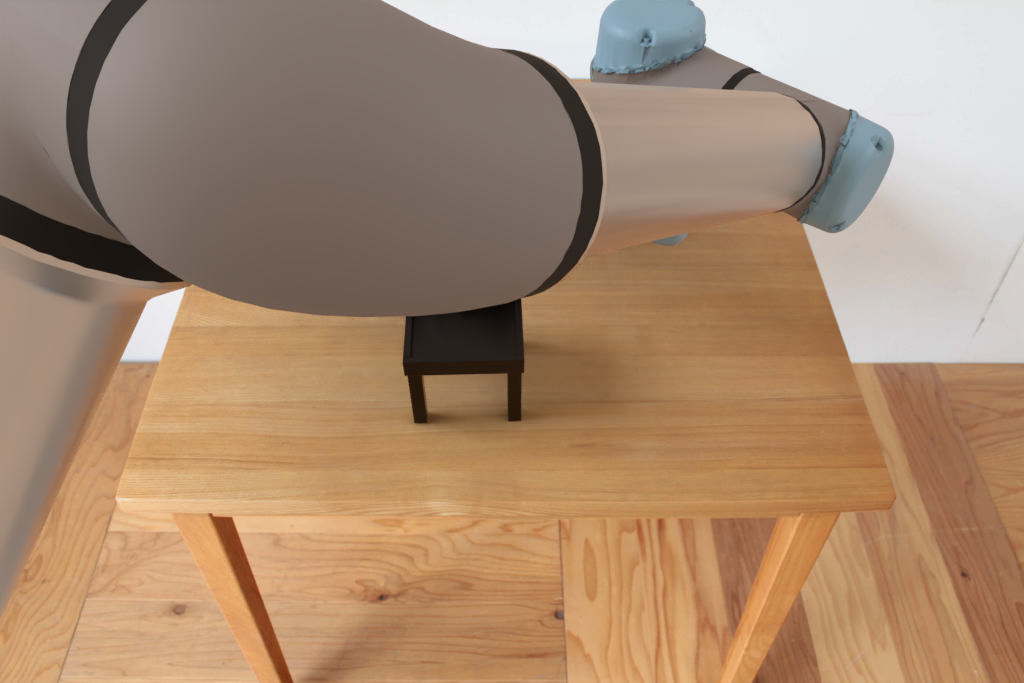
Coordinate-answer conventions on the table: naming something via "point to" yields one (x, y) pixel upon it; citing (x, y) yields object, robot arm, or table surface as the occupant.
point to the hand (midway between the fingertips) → (311, 84)
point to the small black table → (465, 350)
